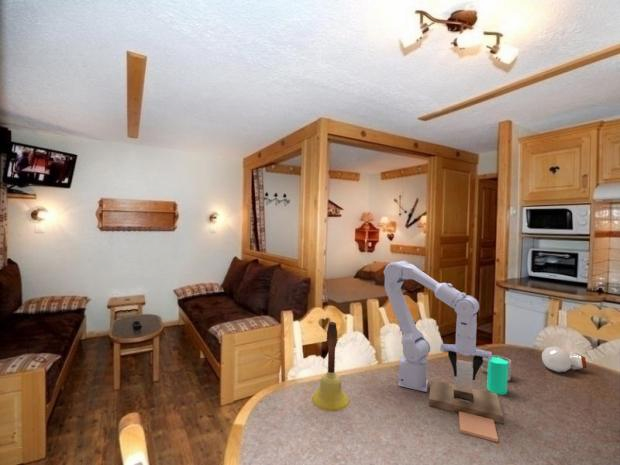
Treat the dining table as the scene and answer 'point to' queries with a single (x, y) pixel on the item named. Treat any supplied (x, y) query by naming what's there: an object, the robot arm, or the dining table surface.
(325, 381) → the handbell
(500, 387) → the candle
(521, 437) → the dining table surface
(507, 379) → the mug
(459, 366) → the steel plug
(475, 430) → the terracotta tile
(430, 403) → the wooden board with hole
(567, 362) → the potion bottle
